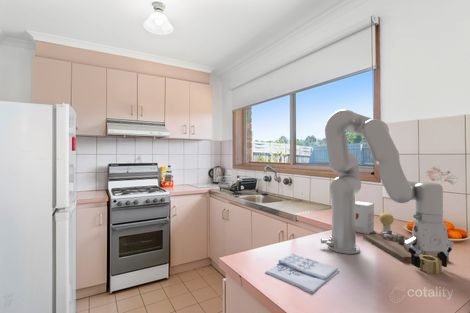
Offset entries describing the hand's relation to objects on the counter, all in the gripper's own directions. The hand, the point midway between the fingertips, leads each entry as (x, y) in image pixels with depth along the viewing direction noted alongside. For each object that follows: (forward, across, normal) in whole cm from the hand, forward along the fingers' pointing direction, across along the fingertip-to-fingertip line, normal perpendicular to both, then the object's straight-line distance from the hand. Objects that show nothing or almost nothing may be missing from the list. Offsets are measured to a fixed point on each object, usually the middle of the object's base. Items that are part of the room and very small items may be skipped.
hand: (428, 265), depth 86 cm
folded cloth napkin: (+2, -46, 0) cm, 46 cm away
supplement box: (+2, +1, +44) cm, 44 cm away
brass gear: (+1, 0, 0) cm, 1 cm away
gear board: (+1, +4, +19) cm, 19 cm away
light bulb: (+1, +13, +42) cm, 44 cm away
